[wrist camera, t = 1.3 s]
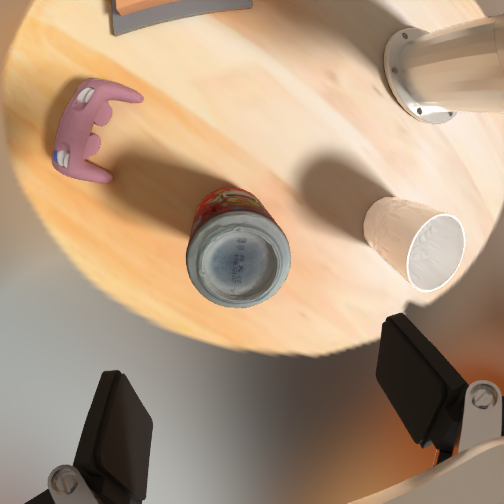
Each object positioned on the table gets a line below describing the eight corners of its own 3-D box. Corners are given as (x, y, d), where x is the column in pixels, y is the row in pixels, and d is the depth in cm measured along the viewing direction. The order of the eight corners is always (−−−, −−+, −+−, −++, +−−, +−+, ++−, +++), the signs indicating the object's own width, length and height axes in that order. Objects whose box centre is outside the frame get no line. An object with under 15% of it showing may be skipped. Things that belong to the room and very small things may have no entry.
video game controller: (121, 86, 25) (73, 69, 19) (150, 94, 24) (101, 73, 18) (88, 172, 28) (38, 171, 21) (114, 187, 27) (61, 188, 20)
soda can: (265, 184, 30) (299, 214, 18) (262, 250, 32) (288, 313, 21) (194, 183, 29) (182, 213, 17) (195, 251, 31) (187, 315, 20)
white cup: (354, 256, 34) (398, 296, 25) (361, 189, 31) (414, 211, 22) (406, 253, 35) (454, 287, 26) (415, 193, 32) (471, 214, 23)
